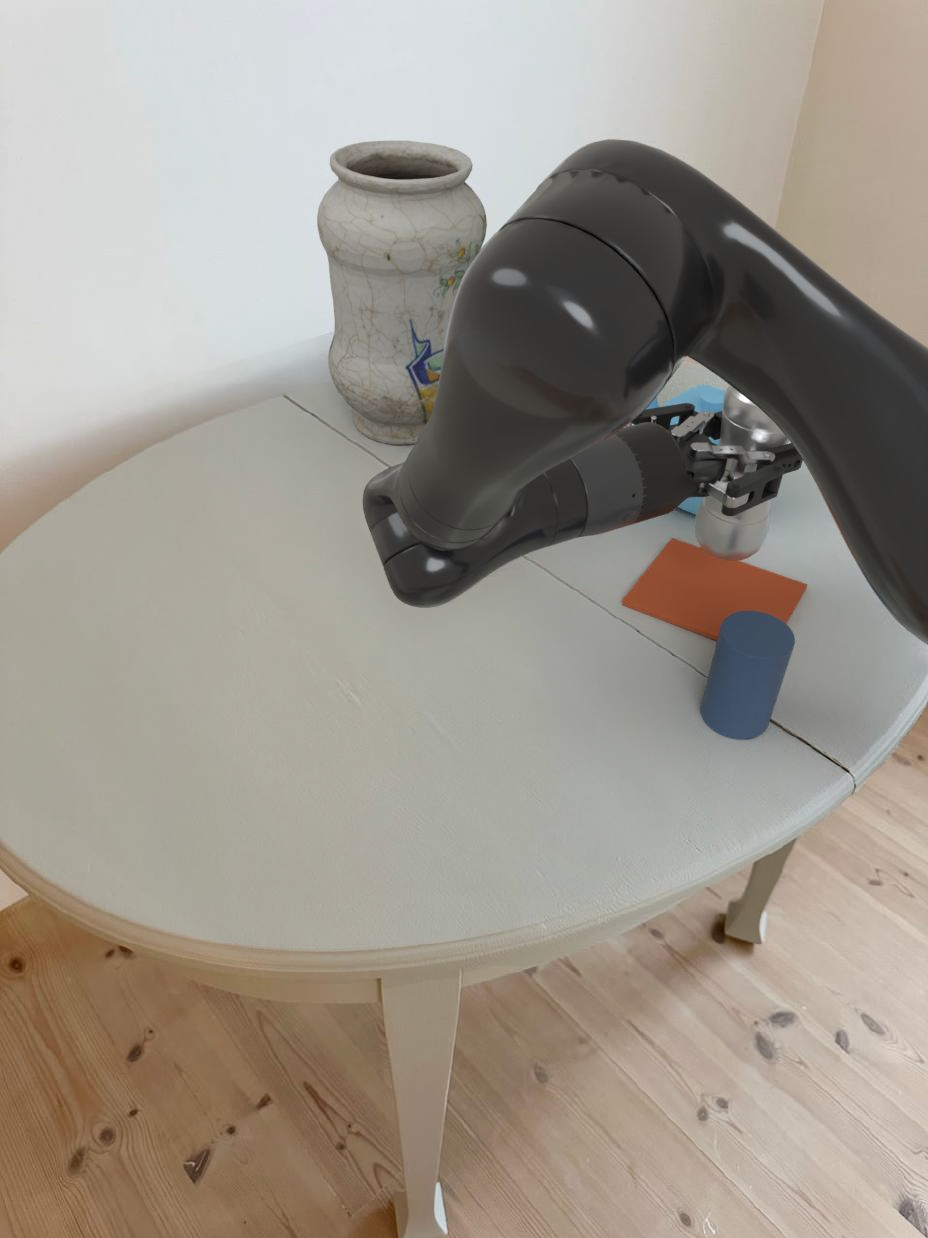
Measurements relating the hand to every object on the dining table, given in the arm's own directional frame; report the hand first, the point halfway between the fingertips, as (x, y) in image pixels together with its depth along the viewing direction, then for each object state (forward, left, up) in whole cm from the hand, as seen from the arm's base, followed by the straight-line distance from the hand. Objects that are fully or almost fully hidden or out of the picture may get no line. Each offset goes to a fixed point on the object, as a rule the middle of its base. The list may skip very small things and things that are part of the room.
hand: (773, 435), depth 81 cm
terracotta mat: (+1, +2, -17) cm, 17 cm away
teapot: (+11, -15, -17) cm, 25 cm away
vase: (+45, -10, -17) cm, 49 cm away
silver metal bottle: (+1, +2, -11) cm, 11 cm away
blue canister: (-6, +16, -17) cm, 24 cm away
